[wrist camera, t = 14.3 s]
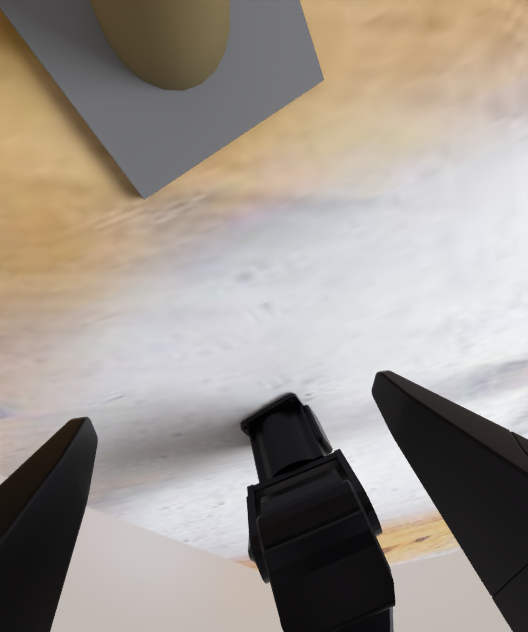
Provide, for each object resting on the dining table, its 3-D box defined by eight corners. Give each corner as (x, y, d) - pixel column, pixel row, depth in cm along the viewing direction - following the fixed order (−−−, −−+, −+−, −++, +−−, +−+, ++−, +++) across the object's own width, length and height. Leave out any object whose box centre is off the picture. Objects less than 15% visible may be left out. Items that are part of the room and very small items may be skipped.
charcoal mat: (146, 197, 17) (144, 199, 16) (-73, -97, 10) (-97, -121, 10) (317, 84, 16) (324, 79, 15) (189, -307, 10) (189, -352, 9)
